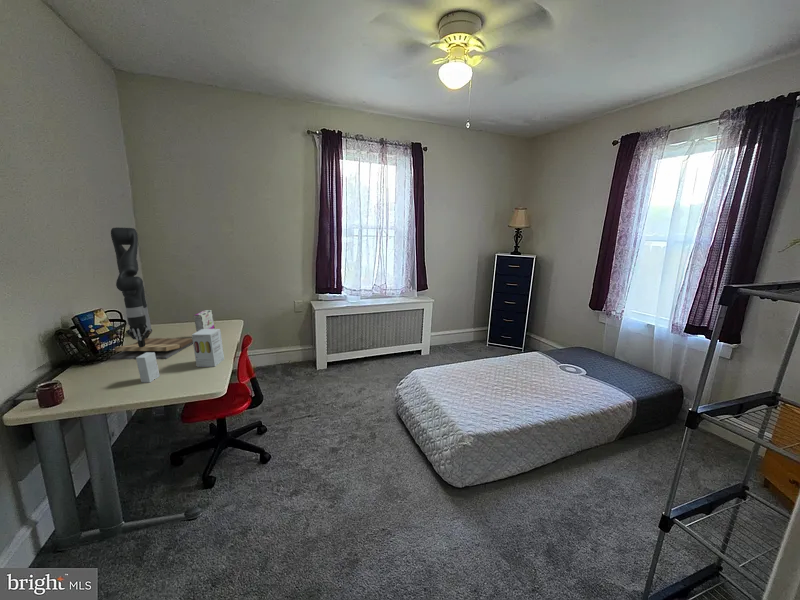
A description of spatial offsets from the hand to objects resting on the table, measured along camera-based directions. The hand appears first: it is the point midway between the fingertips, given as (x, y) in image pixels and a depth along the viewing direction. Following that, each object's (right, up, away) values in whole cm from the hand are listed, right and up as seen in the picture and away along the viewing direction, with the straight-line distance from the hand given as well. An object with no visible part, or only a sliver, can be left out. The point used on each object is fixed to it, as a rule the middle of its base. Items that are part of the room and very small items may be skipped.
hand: (142, 346), depth 175 cm
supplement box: (+42, -7, -9) cm, 43 cm away
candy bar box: (+18, +1, +28) cm, 33 cm away
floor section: (0, -3, +9) cm, 10 cm away
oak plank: (0, -2, +4) cm, 5 cm away
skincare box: (+24, -11, -26) cm, 37 cm away
